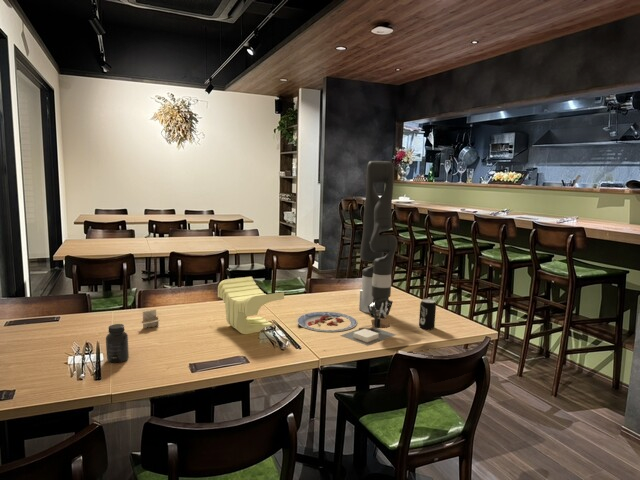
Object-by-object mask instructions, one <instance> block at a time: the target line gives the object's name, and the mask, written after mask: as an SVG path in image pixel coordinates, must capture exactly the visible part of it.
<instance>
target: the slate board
mask: <svg viewBox="0 0 640 480" xmlns="http://www.w3.org/2000/svg"><path fill="white" fill-rule="evenodd" d="M367 330H370V331H373V332H376V333H379V338H378V339H376V340H373V341H370V342H368V343H366V342H363V341H361V340H358V339H355V338H353V333H354V332H357V331H360V330H359V328H358V329H355V330H352V331H349V332H345V333H343V334H341V335H340V337H343V338H346V339H348V340H351V341H354V342H356V343H359V344H361V345H364V346H367V347H368V346H370V345H374V344H376V343H379V342H380V341H384V340H386V339H389V338H391V337H394V336H396V335H397V334H396V333H393V332H389V331H386V330H383V329H382V328H373V329H367Z"/></svg>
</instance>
